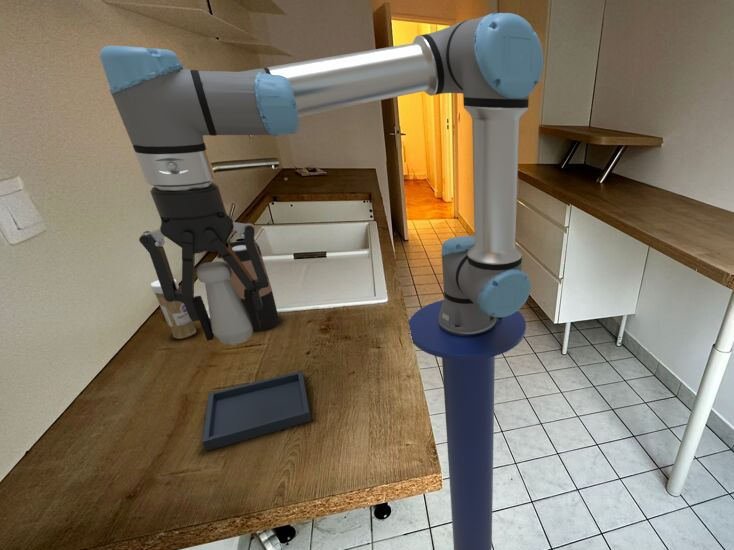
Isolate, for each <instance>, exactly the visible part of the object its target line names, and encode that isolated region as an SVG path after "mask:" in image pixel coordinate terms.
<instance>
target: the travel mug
mask: <svg viewBox="0 0 734 550" xmlns="http://www.w3.org/2000/svg"><path fill="white" fill-rule="evenodd" d="M228 243H229V244H230V246H231V248H232V250H233V251H234V253H235V254H236V255H237V257H238V258H239V259H240V261H241V262H242V264H243V265H244V266H245V268H246V269H247V271H248V272H249V273H250V275H251V276H252V278H253V279H254V280H256V279H258V278H257V275H256V273H255V270H254V267H253V265H252V262H251V259H250V257H249V254H248V251H247V248H246V246H245V241H244V240H239V241H238V240H237V241H232V242H228ZM256 245H257V248H258V251H259V253H260V256H261V259H262V262H263V265H264V268H265V270H266V273H267V276H268V281H269V285H268V287H266V288H262V289H260V290H259V294H260V297H261V301H262V310H257V314H258V317H259V320H260V323H261V331H265V330H270V329H272V328H274V327H276V326H277V325H278V324H279V323H280V317H279V312H278V309H277V304H276V300H275V297H274V292H273V289H272V286H271V285H272V284H271V282H270V278H269V275H268V271H267V269H266V265H265V262H264V258H263V254H262V251H261V248H260V246H259V244H258V243H257V242H256ZM221 258H222V260H223V261H222V262H224V263H227V262H226V261H225V260H224V258H223V257H221ZM229 267H230V266H229ZM230 269H231V268H230ZM231 272H232V276H231V277H230V278H229V280H230V282H231V283H232V285H233V287H234V289H235V290H236V292H237V294H238V296H239V297H240V299H241V301H242V303H243V304H244V306H245V308H246V310H247V311H248V313H249V310H248V307H247V304H246V300H245V297H244V289H246V288H245V286H244V285H243V284H242V282H241V281H240V280H239V278H238V277H237V276H236V274H235V273H234V272H233V270H232V269H231ZM249 315H250V313H249ZM253 332H255V329H254V328H253Z"/></svg>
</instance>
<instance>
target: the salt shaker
mask: <svg viewBox="0 0 734 550" xmlns="http://www.w3.org/2000/svg"><path fill="white" fill-rule="evenodd" d="M195 271H196V276H197V279H198V280H199V282H201V283H203V284H204V286H205V292H206V299H207V306H208V312H209V313H208V315H209V319H210V321H211V329H212V333H213V334H214V337H215V338H217V340H219V341H220V342H221V343H222V344H224V345H230V346H235V345H239V344H243V343H246V342H247V341H248V340H249V339H251V338H252V337H253V333H254V331H253V328H254V325H253V322H252V319H251V316H250V315H249V313H248V311H247V310H246V308H245V306H244V304H243V303H242V301H241V299H240V297H239V296H238V294H237V292H236V290H235V289H234V287H233V285H232V283H231V282H230V279H229V278H230V277H231V276H232V272H231V269H230V267H229V265H228V264H227V263H224V261H209V262H204V263H202V264H200V265H198V266H197V267H196V269H195Z"/></svg>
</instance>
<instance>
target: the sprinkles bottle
mask: <svg viewBox="0 0 734 550" xmlns="http://www.w3.org/2000/svg"><path fill="white" fill-rule="evenodd" d="M174 281H175V284H176V287H177V290H180V286H179V283H178V281H177V279H175V278H174ZM150 288H151V290H152V293H154V295H155V297H156V299H157V301H158V303H159V307H160V310H161V311H162V313H163V316H164V318H165V320H166V323H167V326H168V327H169V328H170V331H171V333H172V337H173V338H175V339H180V340H181V339H186V338H190V337H192V336H194V335H196V333H197V328H195V325H194V321H192V320H191V319H190V317H189V315H188V312H187V310H186V307H185V305H184V303H182V302H180V301H173V302H169V301H167V300H166V299H165V297H164V294H163V291H162V288H161V285H160V282H159V279H157V280H155V281H152V282H151V283H150Z"/></svg>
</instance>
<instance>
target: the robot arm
mask: <svg viewBox="0 0 734 550" xmlns="http://www.w3.org/2000/svg"><path fill="white" fill-rule="evenodd" d="M99 60H100V62H101V65H102V68H103V71H104V74H105V77H106V81H107V82H108V83H107V84H108V86H109V88H110V89H109V93H110V95H111V97H112V99H113V102H114V103H115V106H116V108H117V111H118V113H119V116H120V118H121V120H122V123H123V125H124V128H125V130H126V133H127V135H128V138H129V141H130V142H131V145H132V148H133V150H134V154H135V155H136V158H137V161H138V164H139V166H140V169H141V172H142V174H143V177H144V179H145V181H146V183H147V184H148V185H150V186H153V187H152V188H151V190H150V195H151V197H152V200H153V202H154V205H155V208H156V210H157V213H158V216H159V217H160V222H161V223H160V226H159V228H158V229H155V230H152V231H150V230H145V231H144V232H142V234H141V235H140V236H139V238H138V241H139V242H140V244H141V245H142V246H143V247H144V248H145V250H146V251H147V252H148V253H149V256H150V258H151V262H152V264H153V268H154V270H155V274H156V277H157V280H159V282H160V285H161V288H162V291H163V294H164V297H165V299H166V300H167V301H169V302H173V301H180V302H182V303H184V305H185V307H186V310H187V312H188V315H189V317H190V319H191V320H192V322H197V321H199V322H200V323H199V324H200V325H201V328H202V330H203V333H204V335H205V338H206V341H212V340H214V337H215V335H214V334H213V333H212V329H211V321H210V315H209V313H208V311H207V307H206V306H205V304H204V300H203V298H202V295H196V296H195V295H194V294H195V267H196V266H195V265H196V264H195V260H196V254H201V253H203V252H212V253H213V252H217V253H218V254H219V255H220V257H221V258H222V257H223V258H224V260H225V261H226V262H227V264H228V265H229V266H230V268H231V269H232V270H233V272H234V273H235V274H236V276H237V277H238V278H239V280H240V281H241V282H242V284H243V285H244V286H245V288H246V289H244V297H245V300H246V304H247V307H248V310H249V313H250V316H251V319H252V322H253V325H254V329H255V331H254V332H260V331H261V332H262V330H261V323H260V320H259V317H258V314H257V310H262V301H261V297H260V294H259V290H260V289H262V288H266V287H268V285H269V281H270V280H269V281H268V278H269V275H268V272H267V273H266V271H267V269H266V270H265V268H266V267H265V268H264V265H265V264H264V265H263V262H262V259H261V256H260V253H259V251H258V248H257V245H256V243H257V242H256V240H255V224H254V223H253V222H252V221H248V222H246V223H245V222H244V223H243V222H242V223H241V222H237V221H234V220H233V219H232V218H231V217H230V216H229V215H228V213H227V211H226V208H225V205H224V201H223V197H222V195H221V192H220V191H221V190H220V188H219V186H218V185H217V184H216V183H214V181H215V179H216V176H215V172H214V169H213V166H212V163H211V159H210V155H209V152H208V149H207V147H206V143H205V141H204V136H212V137H213V136H214V137H215V136H272V137H278V136H281V135H283V136H284V135H293V134H296V133H298V131H299V129H300V118H301V117H305V116H311V115H315V114H316V115H317V114H319V113H326V112H330V111H335V110H341V109H344V108H350V107H354V106H355V107H356V106H359V105H363V104H368V103H373V102H378V101H383V100H388V99H392V98H399V97H403V96H406V95H412V94H416V93H422V92H424V93H425V94H427V95H428V96H431V97H432V96H437V95H442V94H443V95H444V94H461V95H462V99H463V101H462V103H463V108H464V110H465V111H466V112H467V113H468V115H469V116H470V117H471V122H472V123H471V125H472V128H471V129H472V130H471V131H472V174H473V175H472V178H473V181H472V182H473V231H474V235H463V236H456V237H455V236H454V237H450V238H448V239H446V240H445V241H443V243H442V245H441V254H440V256H441V268H442V283H443V299H442V300H443V303H442V306H441V310H440V313H439V317H438V322H439V327H440V329H441V330H442V331H444V332H445V333H447V334H449V335H453V336H457V337H476V336H481V335H484V334H486V333H489V332H490V331H492V330H493V329H494V328H495V326H496V318H498V319H499V320H501V319H502V317H506V316H509V315H511V314H513V313H515V312H516V311H519V310H520V309H521V308H522V306H524V305H525V304H526V301H527V300H528V299H529V296H530V293H531V287H532V285H531V280H530V278H529V276H528V274H527V273H526V272H525V271H523V270H522V267H523V252H522V251H521V249H520V248H519V247H518V246H517V245H516V235H517V204H518V203H517V202H518V179H519V178H518V175H519V148H520V147H519V145H520V120H521V118H522V117H523V116H524V114H526V113H527V112H528V111H529V102H530V101H529V100H530V94H531V93H533V91H534V90H535V89H536V86H537V85H538V84H539V83H540V81H541V79H542V76H543V69H544V52H543V47H542V43H541V41H540V38H539V36H538V34H537V32H536V31H535V30H534V28H533V26H532V25H531V23H529V21H528V20H526V19H525V18H524V17H522V16H520V15H518V14H516V13H511V12H492V13H489V14H487V15H483V16H481V17H477V18H474V19H473V18H472V19H471V18H470V19H466V20H462V21H460V22H458V23H455V24H452V25H449V26H447V27H445V28H443V29H439V30H436V31H433V32H430V33H425V34H419V35H416V36H415V37H414V39H413V41H412V42H411V43H406V44H399V45H394V46H388V47H383V48H377V49H369V50H365V51H357V52H352V53H346V54H340V55H333V56H328V57H322V58H315V59H309V60H304V61H296V62H291V63H286V64H278V65H273V66H272V65H271V66H267V67H263V68H255V69H248V70H242V71H219V70H218V71H216V70H198V69H191V68H185V67H184V66H183V64H182V63H181V61H180V58H179V57H178V55H177V54H176V53H175V51H172V50H170V49H166V48H156V47H155V48H154V47H153V48H150V47H142V46H129V45H107V46H104V47H103V48H101V50H100V52H99ZM233 231H235V232H236V233H237V235H238V237H239V238H240V239H243V241H245V246H246V248H247V251H248V254H249V257H250V259H251V262H252V265H253V267H254V270H255V273H256V275H257V278H258V279H256V280H254V279H253V278H252V276H251V275H250V273H249V272H248V271H247V269H246V268H245V266H244V265H243V264H242V262H241V261H240V259H239V258H238V257H237V255H236V254H235V253H234V251H233V250H232V248H231V246H230V244H229V243H230V242H229V241H228V240H229V238H230V236H231V234H232V232H233ZM165 237H166V238H167V239H168V240H170V241H171V242H172V243H174V244H175V245H177V246H178V247H180V248H181V289H179V290H177V287H176V284H175V281H174V279H175V278H174V275H173V272H172V269H171V267H170V262H169V260H168V255H167V254H166V250H165V247H164V245H165V243H166V242H165ZM223 258H222V259H223ZM267 275H268V276H267Z"/></svg>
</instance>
